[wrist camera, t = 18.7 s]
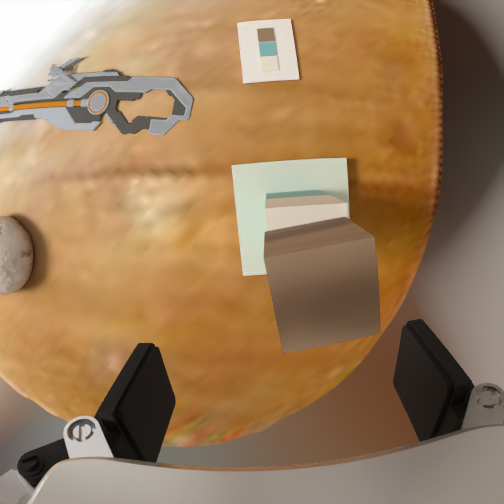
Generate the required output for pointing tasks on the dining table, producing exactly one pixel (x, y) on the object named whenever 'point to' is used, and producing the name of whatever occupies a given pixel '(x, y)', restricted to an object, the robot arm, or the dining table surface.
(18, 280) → the stone
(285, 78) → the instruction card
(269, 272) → the walnut brick
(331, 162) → the baseplate
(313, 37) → the dining table surface
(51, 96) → the gun
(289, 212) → the cream brick
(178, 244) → the dining table surface
